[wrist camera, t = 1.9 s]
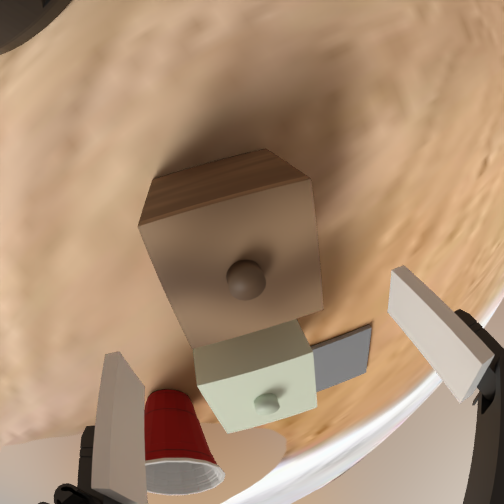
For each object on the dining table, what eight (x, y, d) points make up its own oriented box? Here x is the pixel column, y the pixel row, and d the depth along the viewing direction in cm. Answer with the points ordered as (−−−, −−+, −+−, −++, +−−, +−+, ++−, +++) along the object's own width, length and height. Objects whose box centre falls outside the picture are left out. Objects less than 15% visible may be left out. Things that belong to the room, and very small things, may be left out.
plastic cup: (222, 381, 35) (241, 468, 25) (198, 423, 39) (210, 496, 29) (133, 367, 31) (130, 462, 21) (124, 413, 35) (123, 490, 25)
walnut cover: (152, 179, 22) (135, 235, 13) (265, 148, 23) (318, 184, 14) (185, 274, 27) (193, 360, 18) (283, 247, 27) (329, 319, 19)
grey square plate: (295, 351, 35) (296, 355, 34) (369, 324, 36) (371, 327, 35) (301, 393, 40) (302, 396, 39) (364, 369, 41) (365, 372, 40)
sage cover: (189, 311, 29) (198, 396, 20) (279, 285, 29) (317, 361, 21) (214, 367, 33) (229, 442, 25) (289, 345, 34) (320, 415, 25)
